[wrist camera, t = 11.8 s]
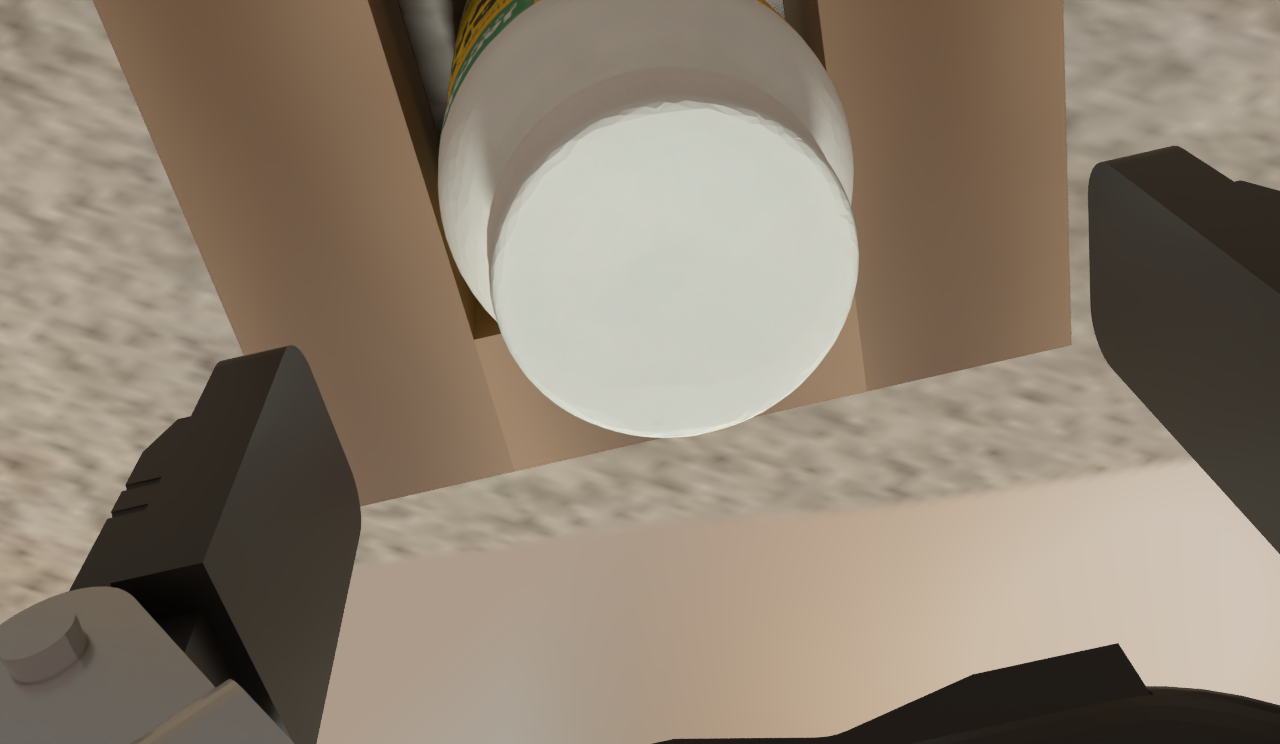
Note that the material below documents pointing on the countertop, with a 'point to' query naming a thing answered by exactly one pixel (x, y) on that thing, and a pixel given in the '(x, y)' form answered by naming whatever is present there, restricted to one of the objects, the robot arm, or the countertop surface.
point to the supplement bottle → (650, 204)
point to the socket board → (438, 294)
